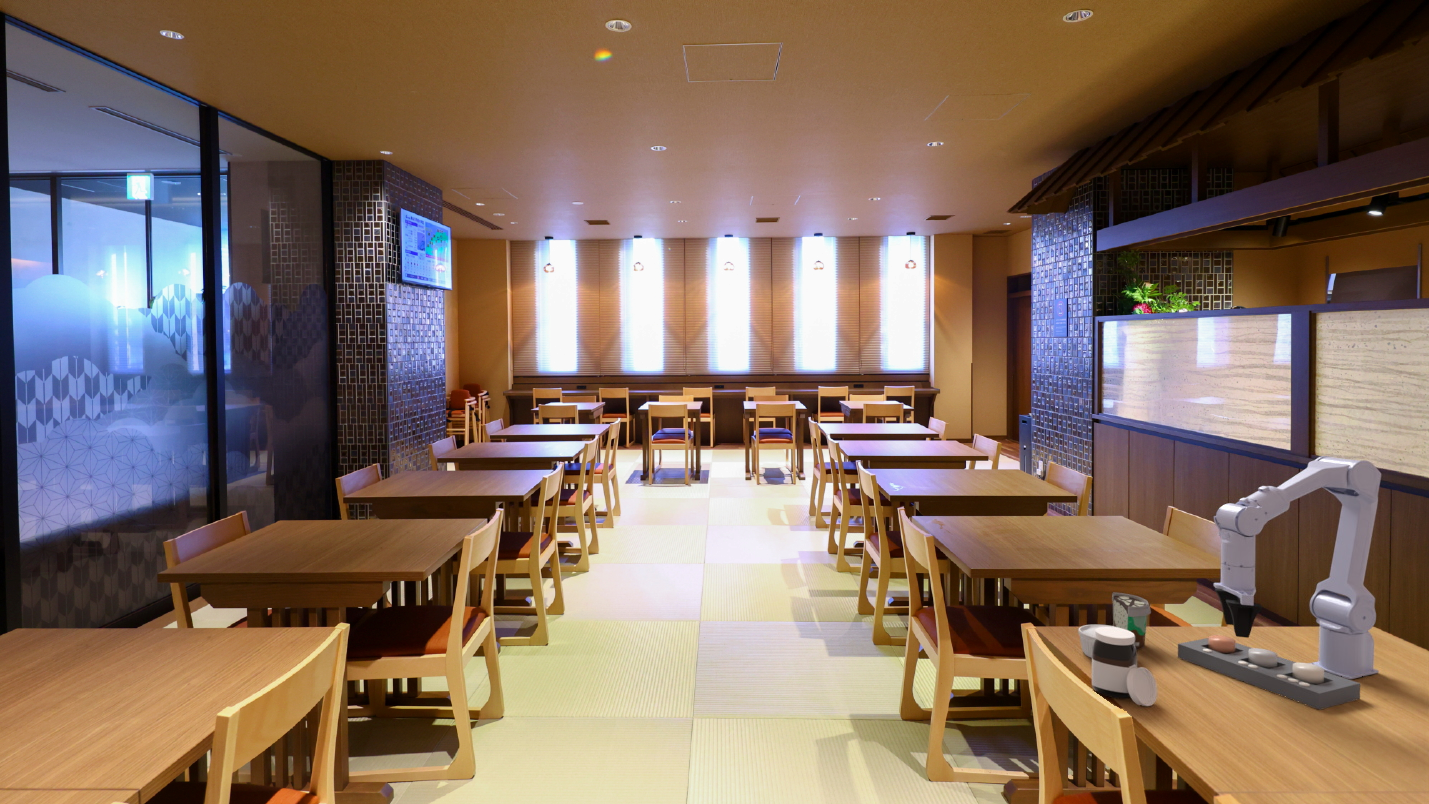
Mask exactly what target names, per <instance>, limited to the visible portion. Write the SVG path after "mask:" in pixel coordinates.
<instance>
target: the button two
mask: <svg viewBox="0 0 1429 804" xmlns="http://www.w3.org/2000/svg"><path fill="white" fill-rule="evenodd" d="M1250 648H1251V649H1249V655H1248V661H1249V662H1250V663H1251V664H1254V665H1257V666H1261V667H1267V668H1274V667H1277V659H1278V657H1279V656H1278V653H1277V652H1276V651H1275V652H1274V651H1272V650H1271V649H1270V650H1269V649H1265V648H1257V647H1255V648H1254V647H1250Z"/></svg>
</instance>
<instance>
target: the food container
mask: <svg viewBox="0 0 1429 804" xmlns="http://www.w3.org/2000/svg"><path fill="white" fill-rule="evenodd" d="M1111 601H1112V619H1113V620H1112V623H1113V624H1112V626H1114V627H1119V628H1122V629H1125V630H1128V631H1130V632H1132V633H1133V634H1134V635H1135V642H1134V645H1135V647H1136V650H1140V649H1143V648H1144V647H1145V642H1146V633H1147V623H1148V622H1147V621H1148V620H1147V619H1148V616H1149V615H1150V614H1151V613H1152V611H1151V610H1152V609H1151V606H1150V604H1149V602H1148V600H1147V599H1144V598H1143V597H1140V596H1137V595H1134V594H1128V593H1123V592H1112V596H1111Z"/></svg>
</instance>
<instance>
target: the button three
mask: <svg viewBox="0 0 1429 804" xmlns="http://www.w3.org/2000/svg"><path fill="white" fill-rule="evenodd" d="M1324 672H1325V671H1324V669H1323V668H1321V667H1319V666H1316V665H1313V664H1309V663H1307V662H1296V663H1293V675H1292V676H1293V677H1294V678H1295V679H1298V680H1301V681H1304V682H1308V683H1315V684H1319V683H1323V682H1324Z"/></svg>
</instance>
